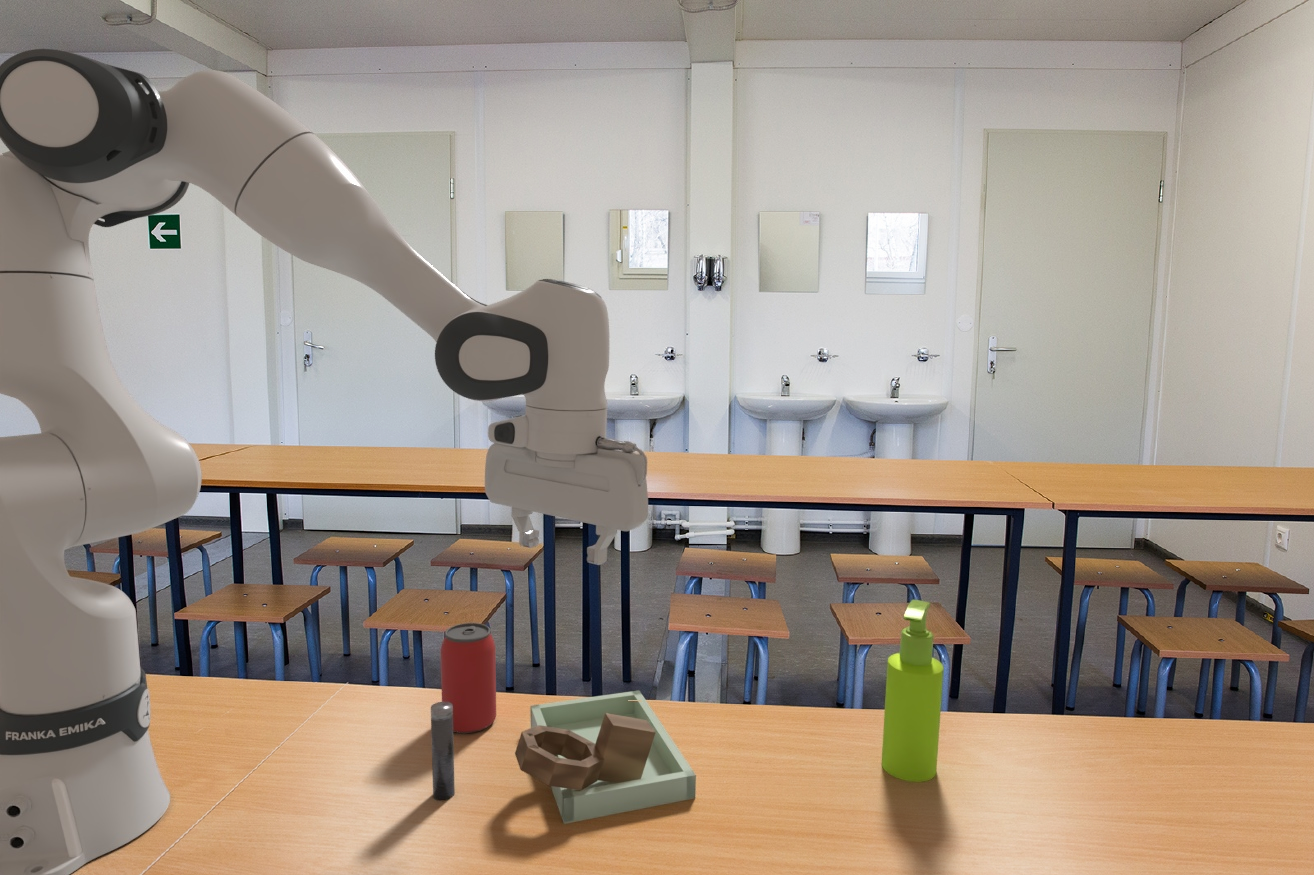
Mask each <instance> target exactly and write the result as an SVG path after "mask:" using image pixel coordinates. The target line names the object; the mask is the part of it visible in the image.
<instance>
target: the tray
mask: <svg viewBox="0 0 1314 875" xmlns="http://www.w3.org/2000/svg"><path fill="white" fill-rule="evenodd" d="M628 700H642V701H628ZM529 711H530V728H533V727H536V726H538V725H542V726H548V727H554V728H560V729H566V730H570V731H572V732H574V733H576V734H578V735H580V736H581V737H583V738H585V739H587V740H589V741H591V742H593V743H595V744H596V740H597V737H598V734H599V731H600V728H601V725H602V722H603V718H604V715H605V713H609V714H614V715H620V716H625V717H631V718H637V719H642V720H647V722H648V723H649V724H650V726H651V727H652V728H653V730H654V731H655V732H656V733H655V736H654V739H653V742H652V746H651V749H650V752H649V755H648V758H647V761H646V765H645V768H644V771H643V774H642V777H641V779H638V780H633V781H627V782H621V783H614V782H607V781H600V780H597V782H595V783H593V784H591V785H590V786H588V787H586V788H584V789H583V790H575V789H568V788H561V787H554V786H550V787H551V788H550V789H551V791H552V794H553V797H554V800H555V802H556V805H557V808H558V812H559V814H560V817H561V820H562V822H563V824H564V825H566V824H570V823H571V824H572V823H575V822H580V821H586V820H591V819H596V818H600V817H601V818H602V817H606V816H612V815H617V814H621V813H626V812H631V811H636V810H641V809H647V808H653V807H657V806H662V805H667V804H673V803H676V802H677V803H678V802H683V801H688V800H692V799H696V793H697V790H696V789H697V787H696V786H697V781H696V780H697V774H696V773H695V772H694V770H693V769H692V767H691V766H690V764H689V762H688V761H687V759H686V758H685V756H684V754H683V753H682V752H681V750H680V749H679V748H678V746H677V745H676V743H675V741H674V740H673V738H672V737H671V736H670V733H668V731H667V729H666V728H665V727H664V725H663V724H662V722H661V720H660V719H659V718H658V716H657V714H656V713H655V712H654V710H653V709H652V707H651V706H650V704H649V702H648V701H647V700H646V698H645V697H644V695H643V694H642V692H641V691H640V690H633V691H625V692H617V693H611V694H603V695H596V696H589V697H582V698H576V699H568V700H561V701H554V702H545V703H539V704H532V705H530V710H529ZM553 755H554V756H556V757H558V758H565V757H563V756H561V755H555V754H553ZM565 759H566V758H565Z"/></svg>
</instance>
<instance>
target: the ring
mask: <svg viewBox="0 0 1314 875" xmlns="http://www.w3.org/2000/svg"><path fill="white" fill-rule="evenodd" d="M655 733H656V732H655V731H654V730H653V728H652V727H651V726H650V724H649V723H648V722H647V720H642V719H637V718H631V717H625V716H620V715H614V714H609V713H605V715H604V718H603V722H602V725H601V728H600V731H599V734H598V737H597V740H596V744H595V743H593V742H591V741H589V740H587V739H585V738H583V737H581V736H580V735H578V734H576V733H574V732H572V731H570V730H566V729H560V728H554V727H548V726H542V725H538V726H536V727H533V728H531V727H530V728H529V729H525V730H523V731H521V734H520V737H519V741H518V742H517V746H516V749H515V752H514V755H515V758H516V761H517V764H518V766H519V769H520V771H522V772H524V773H525V774H526V775H529V776H530V777H532V778H534V779H535V780H538V781H539V782H541V783H542V784H545V785H547V786H548V787H551V786H554V787H561V788H568V789H575V790H583V789H584V788H586V787H588V786H590V785H591V784H593V783H595V782H597V780H600V781H607V782H614V783H621V782H627V781H633V780H638V779H641V777H642V774H643V771H644V768H645V765H646V761H647V758H648V755H649V752H650V749H651V746H652V742H653V739H654V736H655ZM553 754H555V755H561V756H563V757H565V758H566V759H565V758H558V757H556V756H554V755H553Z"/></svg>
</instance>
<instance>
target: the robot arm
mask: <svg viewBox="0 0 1314 875" xmlns="http://www.w3.org/2000/svg"><path fill="white" fill-rule="evenodd" d="M0 141H2V143H3V144H4V145H5V146H6V148H7V149H8V151H5V152H2V154H0V394H1V395H4V396H8V397H10V398H12V399H13V398H14V399H16V400H18V401H20V402H21V403H22V404H23V405H25V406H26V407H27V408H28V409H29V410H30V411H31V412H32V414H33V416H34V418H35V419H36V421H37V423H38V426H39V428H40V433H31V434H21V435H19V434H18V435H10V436H9V435H8V436H0V875H71V874H72V873H73V872H75V871H76V870H78V869H79V868H81V867H82V866H84V865H85V864H87V863H88V862H91V861H92V860H94V859H96V858H98V857H100V856H103V855H105V854H108V853H110V852H112V851H114V850H116V849H118V848H120V847H122V846H124V845H125V844H128V843H129V842H131V841H133V840H134V839H136V838H138V837H139V836H140V835H142V834H143V833H145V832H146V831H147V830H149V829H150V828H151V827H152V826H154V825H155V824H156V823H157V822H158V821H159V820H160V819H161V818H162V816H163V815H164V814H165V813H166V812H167V809H168V807H169V805H170V804H171V803H170V802H171V792H170V791H169V788H168V787H167V785H166V784H165V781H164V779H163V777H162V775H161V771H160V769H159V766H158V763H157V760H156V757H155V753H154V749H153V746H152V742H151V738H150V737H151V736H150V733H149V732H150V731H149V727H150V723H151V715H152V714H151V712H152V711H151V698H150V690H149V688H148V682H147V674H146V672H145V670H144V669H143V668H141V659H140V647H139V635H138V623H137V612H136V608H135V606H134V604H133V602H132V600H131V599H130V597H129V596H128V595H127V594H126V593H125V592H124V591H122V590H121V589H119V588H118V587H116V586H115V585H114V586H113V585H111V584H109V583H105V582H102V581H98V580H93V579H88V578H83V577H76V576H70V574H69V572H68V569H67V567H66V562H65V550H69V549H71V548H74V547H78V546H83V545H88V544H92V543H98V542H102V541H106V540H111V539H116V538H122V537H125V536H130V535H131V536H132V535H136V534H140V533H142V532H146V531H148V530H150V529H153V528H156V527H158V526H161V525H163V524H165V523H168V522H170V521H172V520H174V519H177V518H180V517H181V516H184V515H185V514H188V512H190V511H191V509H192V508H193V506H194V505H195V503H196V501H197V500H198V497H199V494H200V491H201V486H202V481H203V479H202V478H203V476H202V475H203V473H202V466H201V464H200V463H201V462H200V460H199V457H198V455H197V453H196V451H195V449H194V448H193V447H192V445H191V444H190V443H189V442H188V441H187V439H186V438H184V437H183V436H182V435H181V434H180V433H178V432H177V431H175V430H174V429H171V428H170V427H169V426H166V425H164V424H162V423H161V422H159V421H158V420H156V419H155V418H153V417H152V416H151V415H150V414H149V413H148V412H146V411H145V409H144V408H142V406H140V405H139V404H138V402H137V401H136V400H135V399H134V398H133V397H132V396H131V394H130V393H129V391H128V390H127V388H126V387H125V385H124V384H123V382H122V381H121V379H120V377H119V375H118V373H117V372H116V370H115V367H114V365H113V362H112V360H111V357H110V354H109V350H108V347H107V343H106V338H105V334H104V330H103V325H102V320H101V316H100V311H99V304H98V298H97V293H96V286H95V281H94V280H95V279H94V274H93V268H92V261H91V257H90V256H91V255H90V247H89V246H90V245H89V238H90V233H91V228H92V227H93V225H96V226H99V227H101V228H112V227H115V226H118V225H121V224H124V223H126V222H130V221H133V220H136V219H140V218H146V217H150V216H153V215H157V214H160V213H162V212H164V211H167V210H168V209H170V208H172V207H174V206H175V205H176V204H178V203H179V202H180V201H181V200H182V199H183V197H184V196H185V194H186V192H187V190H188V189H189V186H190V184H192V185H194V186H197V187H199V188H200V189H202V190H203V191H205V192H206V193H208V194H209V195H211V196H212V197H214V199H216V200H217V201H218V202H219V203H220V204H222V206H224V207H225V208H227V209H228V210H229V211H230V212H231V213H233V214H234V215H235V216H236V217H237V218H238V219H239V220H240V221H242V222H243V223H244V224H245V225H247V226H248V227H250V229H252V230H253V231H254V232H256V233H257V234H258V235H260V236H261V237H262V238H264V239H266V240H267V241H269V242H270V243H272V244H273V245H275V246H276V247H278V248H280V249H281V250H283V251H285V252H287V253H288V254H290V255H292V256H294V257H296V258H297V259H299V260H301V261H303V262H306V263H308V264H311V265H314V266H316V267H320V268H323V269H326V270H328V271H332V272H335V273H338V274H341V275H343V276H346V277H348V278H351V279H353V280H354V281H357V282H359V283H361V284H362V285H365V286H367V287H368V288H370V289H371V290H373V291H374V292H376V293H378V294H379V295H380V296H382V297H383V298H384V299H385V300H386V301H387V302H389V303H390V304H391V305H392V306H394V307H395V308H396V309H398V311H399V312H401V313H402V314H404V315H405V316H406V317H408V319H410V320H411V321H412V322H413V323H414V324H415V325H417V326H418V327H419V328H420V329H422V330H423V331H424V332H425V333H427V334H428V335H429V336H430V337H431V338H432V339H433V340H434V342H435V343H436V344H435V347H434V348H435V349H434V359H435V360H434V363H435V366H436V370H437V372H438V374H439V376H440V378H441V380H442V381H443V383H444V384H445V385H446V386H447V387H448V388H449V389H450V390H452V391H453V392H454V393H455V394H457V395H459V396H461V397H462V398H466V399H468V400H472V401H475V402H476V401H477V402H492V401H497V400H501V399H502V398H503V399H504V398H505V399H506V398H510V397H517V396H524V397H525V398H524V399H525V411H524V412H525V413H524V414H519V415H517V416H515V417H513V418H512V417H511V418H507V419H504V420H499V421H495V422H493V423H490V424H489V425H488V427H487V437H488V440H489V442H490V443H492V444H491V445H489V448H488V449H487V453H486V457H485V464H484V465H485V466H484V493H485V495H486V496H487V498H488V500H489V502H490V503H492V504H495V505H500V506H506V507H510V508H511V514H510V515H511V518H512V520H513V522H514V525H515V527H516V528H517V531H518V532H519V538H518V543H519V546H520V547H523V548H529V549H532V548H536V547H538V545H539V543H540V539H539V538H540V530H538V529H535V528H534V526H533V522H532V520H531V516H530V515H532V514H533V513H539V514H542V515H548V516H553V517H557V518H560V519H566V520H571V521H575V522H581V523H586V524H590V525H594V526H595V534H596V536H599V538H598V539H597V541H596V542H595V544H593V545H590V546H587V548H586V554H587V556H586V561H587V563H589V564H593V565H597V566H600V565H603V564H605V563H606V562H607V560H608V548H609V546H610V544H611V543H612V541H613V540H614V538H615V537H616V536H617V534H618V531H622V532H630V531H632V530H635V529H637V528H640V527H641V526H642V525H643V524H645V522H646V521H647V520H648V517H649V494H648V482H647V475H648V458H647V454H645V452H644V451H643V450H642V449H641V448H639V446H637V444H636V443H635V442H633V441H629V440H626V441H625V440H623V441H621V440H617V439H613V438H608V437H607V421H608V399H607V396H606V392H605V391H606V390H605V383H606V377H607V375H608V371H609V367H610V322H609V321H610V320H609V313H608V308H607V304H606V302H605V301H604V300H603V298H602V296H601V295H600V294H598V293H597V291H594V289H591V288H589V287H586V286H584V285H580V284H577V283H574V282H573V283H572V282H568V281H563V280H558V279H557V280H556V279H552V278H543V279H538V280H536V281H535V282H534V283H533V284H532V285H530V286H529V287H528V288H526V289H524V290H521V291H520V292H518V293H516V294H513V295H512V296H510V297H509V296H508V297H507V298H504V299H502V300H500V301H497V302H493V303H491V304H486V303H483V302H480V301H478V300H476V299H474V298H473V297H471V296H469V294H467V293H465V292H464V291H462V289H461V288H459V287H458V286H457V285H455V284H454V283H453V282H452V281H451V280H450V279H449V278H447V276H445V275H444V274H442V273H441V272H440V271H439V270H438V269H437V268H436V267H434V266H433V265H432V264H431V263H430V262H429V261H427V259H425V258H424V257H423V256H422V255H420V253H418V252H417V251H416V250H415V249H414V248H413V247H412V246H411V245H410V244H409V243H408V242H407V241H406V239H405V238H404V237H403V236H402V235H401V234H400V233H399V231H398V230H397V228H396V227H395V226H394V225H393V224H392V222H391V221H390V220H389V219H388V217H387V216H386V214H385V212H384V211H383V210H382V208H381V207H380V206H379V204H378V203H377V202H376V200H375V199H374V198H373V196H372V195H371V193H369V191H368V190H367V189H366V187H365V186H364V185H363V183H362V182H361V181H360V180H359V178H358V177H357V176H356V175H355V174H354V172H353V171H352V170H351V169H350V167H348V165H347V164H346V163H345V162H344V161H343V160H342V159H341V158H340V156H338V154H336V153H335V152H334V151H333V150H332V148H330V147H329V146H328V145H327V143H325V142H324V141H323V140H322V139H321V138H320V137H318V135H316V134H315V133H314V132H313V131H311V130H310V129H309V128H308V126H305V124H304V123H303V122H301V121H300V120H299V119H297V118H296V117H295V116H294V115H293V114H291V113H290V112H288V111H287V110H286V109H284V108H283V107H281V105H279V104H278V103H276V102H275V101H274V100H272V99H271V98H269V97H268V96H266V95H265V94H263V93H262V92H260V91H258V90H257V89H256V88H254V87H253V86H251V85H249V84H248V83H246V82H245V81H243V80H241V79H240V78H239V77H237V76H235V75H233V74H231V73H229V72H225V71H222V70H214V69H204V70H200V71H196V72H193V73H191V74H189V75H187V76H185V77H184V78H182V79H180V80H179V81H178V82H176V84H174V85H173V86H172V87H171V88H169V89H167V90H164V91H162V90H161V91H158V90H157V88H156V87H155V85H154V84H153V83H152V82H151V80H150V78H148V77H147V76H146V75H145V74H143V73H140V72H137V71H135V70H134V71H133V70H130V69H125V68H123V67H118V66H116V65H115V66H114V65H111V64H106V63H104V62H101V61H98V60H95V59H93V58H90V57H87V56H83V55H81V54H77V53H74V52H69V51H65V50H59V49H50V48H36V49H29V50H25V51H21V52H19V53H16V54H14V55H13V56H12V55H11V57H9V58H8V59H6V60H5V61H3V62H2V63H1V64H0ZM100 219H101V220H100ZM103 220H104V221H103Z"/></svg>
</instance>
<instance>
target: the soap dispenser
mask: <svg viewBox="0 0 1314 875" xmlns="http://www.w3.org/2000/svg"><path fill="white" fill-rule="evenodd" d="M930 607H931V602H929V601H925V600H918V599H912V600H910V602H909V603H908V605H907V607H906V610H905V612H904V615H903V620H904V621H908V622H909V626H907V627H904V628H902V629H901V632H900V646H899V652H896V653H893V654H891V655H889V656H888V658H887V668H886V683H885V698H884V699H885V700H884V701H885V702H884V716H883V730H882V731H883V732H882V746H881V747H882V750H881V766H882V767H881V768H882V769H883V770H884V771H885V772H886V773H888V775H890V776H891V777H894V778H896V779H900V780H901V781H902V780H903V781H906V782H914V783H918V782H919V783H921V782H922V783H923V782H927V781H931V779H933V778H935V777H936V775H937V765H938V755H939V753H938V752H939V751H938V750H939V738H940V737H939V736H940V724H941V711H942V710H941V709H942V698H943V697H942V696H943V681H944V680H943V679H944V665H943V664H942V662H941V661H939V660H938V659H936V658H934V657H933V648H934V647H933V646H934V633H933V632H932V631H931V630H929V629H927V616H928V611H929V610H930Z"/></svg>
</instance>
